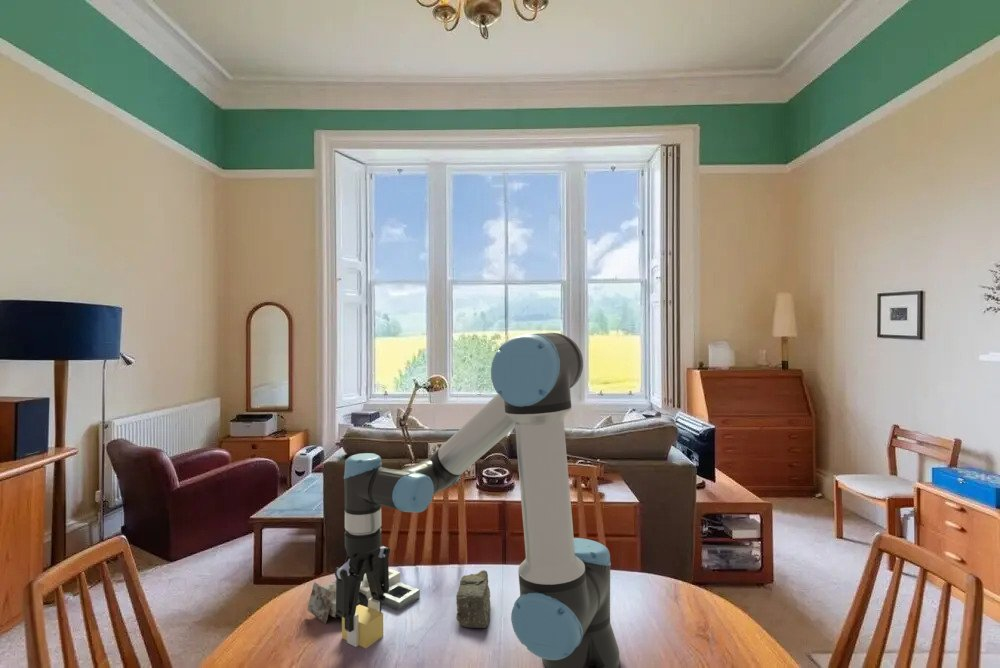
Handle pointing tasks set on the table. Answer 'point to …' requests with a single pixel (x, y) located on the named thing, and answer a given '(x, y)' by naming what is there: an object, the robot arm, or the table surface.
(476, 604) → the rock
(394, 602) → the pin socket
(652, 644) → the table surface
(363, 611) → the block
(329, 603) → the caster wheel
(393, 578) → the tray
